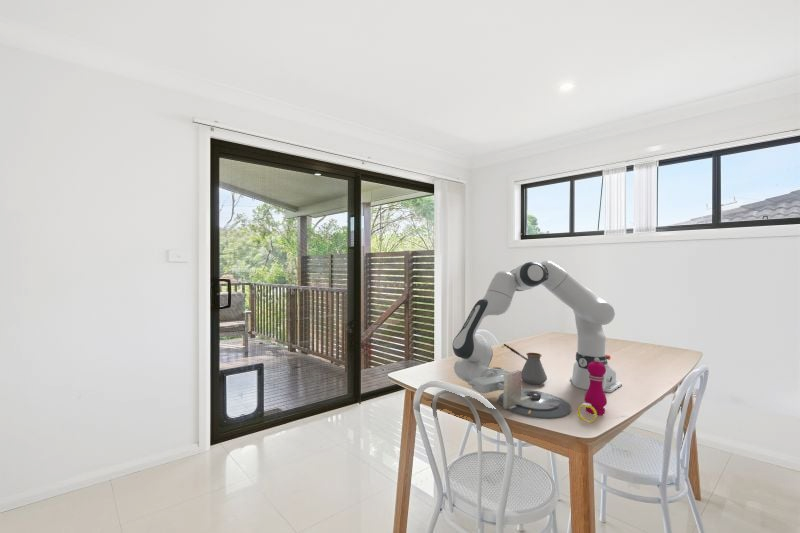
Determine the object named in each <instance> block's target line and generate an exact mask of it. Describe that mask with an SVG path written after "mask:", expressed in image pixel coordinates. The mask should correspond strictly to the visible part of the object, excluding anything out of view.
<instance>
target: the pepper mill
mask: <svg viewBox="0 0 800 533" xmlns="http://www.w3.org/2000/svg"><path fill="white" fill-rule="evenodd" d="M599 361H600V360H599V358H595V359H594V362H591V363H589V364H588V367H587V369H588V372H589V373H590V374H589V379H590V386H589V389H588V390H587V389H586V393H585V394H584V403H590V404H591V405H592V407H593V408H594V409H595V410H596V412H597V416H604V415H605V414H606V408H605V406H606V405H607V403H608V401H607V400H608V399H607V396H606V394H605V392H604V391H603V388H602V382H603V380H604V376H603V375H604V374H605V372H606V368H605V366H604V364H602V363H600V362H599ZM585 411H586V412H587V414H590V413H591V414H590V415H593V414H594V412H593V410H592V409H591V408H588V407H585ZM603 414H604V415H603Z"/></svg>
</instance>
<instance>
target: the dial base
mask: <svg viewBox="0 0 800 533" xmlns="http://www.w3.org/2000/svg"><path fill="white" fill-rule="evenodd" d="M546 393H547V392H546ZM547 394H550V393H547ZM550 395H552V396H554V397H556V398H557V399H558V400H559V407H558V408H557V409H554V410H549V411H538V410H531V409H526V408H522V407H520V406H517V405H515V406H513V407H510V408H504V407H503V398H504V392H502V393H500V394H499V396H498V403H499V405H500V406H501V407H502V408H504V409H506V410H507V411H509V412H511V413H514V414H517V415H520V416H523V417H529V418H532V419H543V420H547V419H548V420H555V419H560V418H565V417H567V416H569V415H570V414H571V412H572V407H571V404H570V403H569V402H568V401H567V400H565V399H563V398H562V397H559V396H557V395H553V394H550Z"/></svg>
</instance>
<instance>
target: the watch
mask: <svg viewBox="0 0 800 533" xmlns="http://www.w3.org/2000/svg"><path fill="white" fill-rule="evenodd" d="M582 407H583V408H586V407H588V408H591V409H592V410H593V412H594V414H595V415H594V418H593V419H592V420H590V422H591V423H594V422H595V421H596V420H597V417H598V415H597V412H596V410H595V409H594V408H593V407H592V405H591V404H590V403H586V402H583V403H582V404H580V405H579V407H578V408H577V416H578V417H579V418H580V420H581V421H583V420H585V421H584V422H587V421H589V419H587V418H584V417H583V416H582V415H581V412H580V411H581V408H582ZM590 422H589V423H590Z"/></svg>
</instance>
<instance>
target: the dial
mask: <svg viewBox="0 0 800 533" xmlns="http://www.w3.org/2000/svg"><path fill="white" fill-rule="evenodd" d="M521 377H522V370H519V369H518V370H517V369H516V370H513V371H509V373H505V374H504V390H503V393H504V398H503V407H502V408H503V409H505V408H510V407H513V406H515V405H517V406H520V407H522V408H526V409H531V410H538V411H549V410H554V409H557V408H558V407H559V400H558V399H557V398H556V397H554V396H555V395H554V396H552V395H553V394H551V395H550V393H548V394H547V392H543V391H540V390H532V389H522V379H521Z"/></svg>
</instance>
